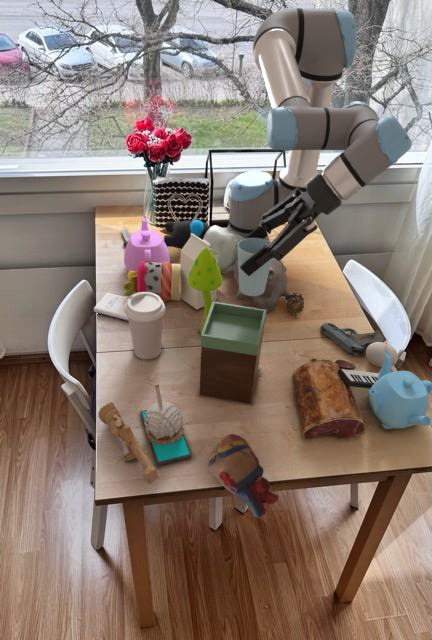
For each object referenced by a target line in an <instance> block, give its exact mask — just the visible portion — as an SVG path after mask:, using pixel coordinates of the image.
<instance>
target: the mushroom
mask: <svg viewBox="0 0 432 640" xmlns="http://www.w3.org/2000/svg"><path fill="white" fill-rule="evenodd" d="M188 284H189V285H190V286H191V287H192V288H194V289H196V290H199V291H202V294H203V299H204V307H203V308H204V315H203V321H202V326H201V328H200V331H199V334H201V333H202V331H203V328H204V325H205V322H206V319H207V316H208V313H209V311H210V308H211V305H212V298H211V294H210V291H212V290H215V289H217V290H218V289H219V288H221V287H222V284H223V276H222V273H221V272H220V269H219V266H218V264H217V261H216V259H215V257H214V255H213V254H212V252H211V251H210V250H209V249H208V248H204V249H203V250H202V251H201V252H200V253H199V255H198V256H197V258H196V259H195V261H194V263H193V266H192V268H191V271H190V273H189V276H188Z"/></svg>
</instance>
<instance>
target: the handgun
mask: <svg viewBox="0 0 432 640" xmlns="http://www.w3.org/2000/svg"><path fill="white" fill-rule="evenodd" d="M320 332H322V333H323V334H324V335H325V336H326V337H327V338H329V339H331V340H332V341H333V342H334V343H335V344H337V345H338V346H339V347H341V348H342V349H343V350H345V351H346V352H347V353H348V354H349V355H351V356H353V355H354V356H364V354H365V352H366V349H367V347H368V346H369V345H370V344H372V343H375V342H384V341H388V339H387V338H386V336H385V335H384V333H383V332H382V331H381V330H380V329H376V330H374V332H365V333H359V332H357V331H356V330H355V329H354V328H352V327H345V328H339V327H338V326H337V325H336V324H334V323H331V322H324V323H323V324H322V325H321V326H320ZM347 332H349V333H350V334H347Z"/></svg>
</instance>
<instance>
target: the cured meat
mask: <svg viewBox="0 0 432 640" xmlns="http://www.w3.org/2000/svg"><path fill="white" fill-rule="evenodd" d="M340 368H341V369H344V370H354V371H355V370H356V369H357V368H358V367H357V365H356V364H355V363H354V362H351V361H347V360H345V359H336V360H335V361H334V360H333V359H332V360H331V359H317V358H313V357H312V358H311V359H310V360H309V362H307V363H304V364H302V365H301V366H299V367H297V368H296V369H295V370H294V371H293V372H292V375H291V382H292V386H293V396H294V402H295V405H296V410H297V413H298V419H299V423H300V429H301V435H302V438H303V439H312V438H314V437H316V436H317V437H319V436H324V435H325V436H326V435H330V434H333V433H334V434H335V437H336V438H339V439H347V438H352V437H357V436H361V435H363V434H365V432H366V430H367V428H366V425H365V423H364V421H363V418H362V415H361V413H360V410H359V408H358V405H357V401H356V398H355V396H354V393H353V391H352V387H349V386H348V385H347V384H346V382H345V381H344V380H343V379H342V377H341V376H340V375H339V374H338V370H339V369H340Z"/></svg>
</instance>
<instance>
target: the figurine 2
mask: <svg viewBox="0 0 432 640" xmlns="http://www.w3.org/2000/svg"><path fill="white" fill-rule="evenodd" d="M384 350H387V351H388V352H389V354H390V356H391V367H393V366H395V365H396V364H397V363H398V360H399V354H398V351H397V349H396V348H394V347H393V346H392V345H390V344H389V343H388V340H386V341H384V342H375V343H372V344H370V345H369V346H368V347H367V349H366V350H365V356H366V358H367V360H368V361H369V362H370V363H371V364H372V365H373V366H376V367H379V368H382V366H383V364H384V360H385V356H384Z"/></svg>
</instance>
